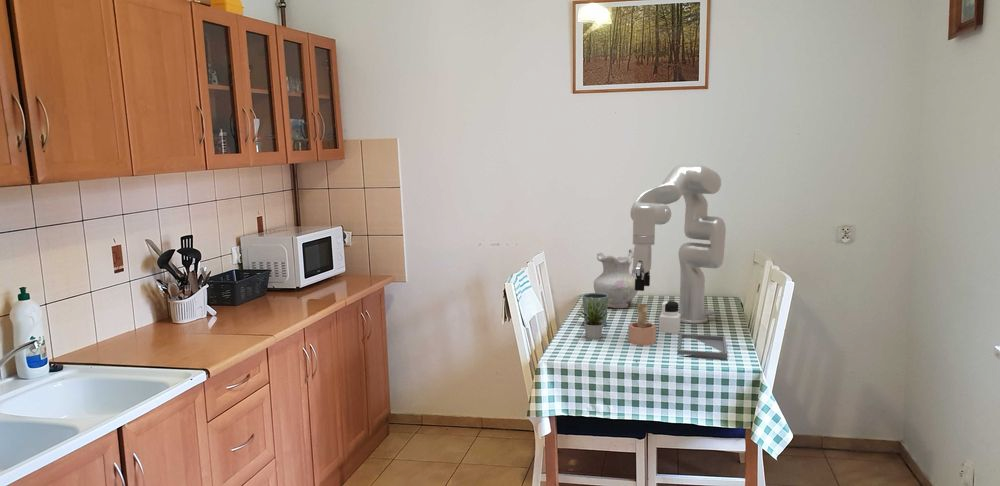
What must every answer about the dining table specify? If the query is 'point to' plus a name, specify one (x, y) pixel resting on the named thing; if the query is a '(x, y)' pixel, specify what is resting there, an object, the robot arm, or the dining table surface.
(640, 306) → the dowel
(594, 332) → the house plant
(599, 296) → the blue-grey plant pot
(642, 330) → the cup
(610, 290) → the ceramic pitcher
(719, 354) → the tray
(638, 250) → the robot arm
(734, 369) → the dining table surface
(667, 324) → the medicine bottle
